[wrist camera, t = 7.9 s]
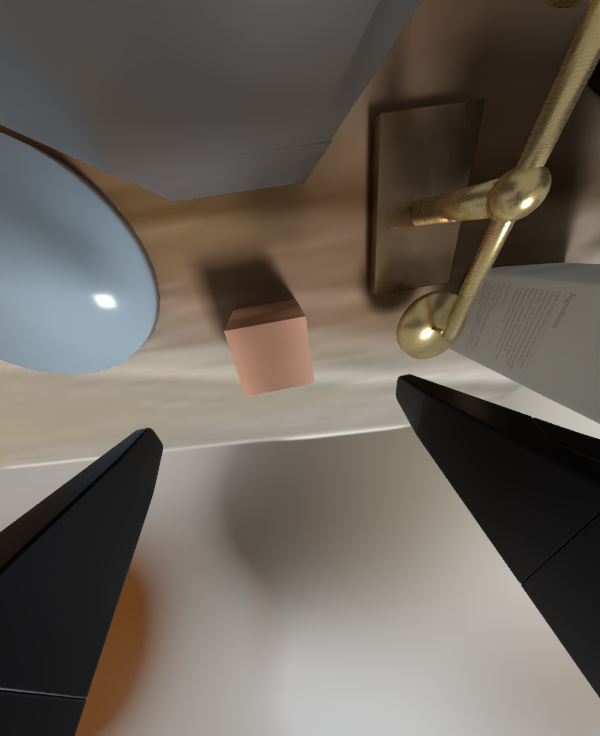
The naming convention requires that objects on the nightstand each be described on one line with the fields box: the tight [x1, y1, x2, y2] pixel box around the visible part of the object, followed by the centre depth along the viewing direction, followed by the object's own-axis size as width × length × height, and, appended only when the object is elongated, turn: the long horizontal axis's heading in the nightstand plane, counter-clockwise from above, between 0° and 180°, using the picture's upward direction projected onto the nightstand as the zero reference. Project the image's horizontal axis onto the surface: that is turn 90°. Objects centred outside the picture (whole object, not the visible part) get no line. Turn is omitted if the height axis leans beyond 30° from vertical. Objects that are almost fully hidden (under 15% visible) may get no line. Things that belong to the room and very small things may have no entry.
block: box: [224, 299, 314, 396], centre depth 13 cm, size 4×4×4 cm
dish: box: [0, 132, 160, 374], centre depth 11 cm, size 11×11×1 cm
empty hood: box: [112, 140, 331, 202], centre depth 7 cm, size 7×7×5 cm
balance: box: [369, 0, 600, 359], centre depth 9 cm, size 16×5×8 cm, turn 8°
